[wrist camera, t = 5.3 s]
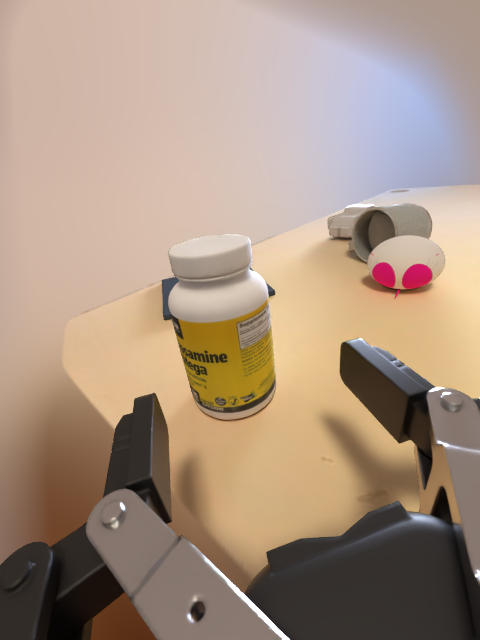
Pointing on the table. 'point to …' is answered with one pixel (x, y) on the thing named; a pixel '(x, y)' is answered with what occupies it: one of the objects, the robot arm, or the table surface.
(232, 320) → the pill bottle
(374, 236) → the ceramic mug
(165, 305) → the mat
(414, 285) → the stress ball
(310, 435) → the table surface
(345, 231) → the bunny figurine
